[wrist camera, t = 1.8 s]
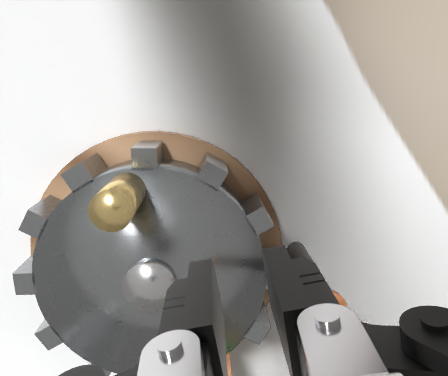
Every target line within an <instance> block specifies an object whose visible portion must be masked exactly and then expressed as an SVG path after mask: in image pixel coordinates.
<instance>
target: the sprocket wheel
mask: <svg viewBox="0 0 448 376" xmlns="http://www.w3.org/2000/svg"><path fill="white" fill-rule="evenodd" d="M227 174H228V169H227V165H226V162H225V161H223V160H221V159H219V158H217V157H216V156H214V155H212V154H210V153H209V152H206V154H205V156H204V157H203V159H202V161H201V163H200V164H199V166H195V165H192V164H189V163H187V162H183V161H178V160H174V159H167V158H164V152H163V140H140V141H139V142H138V143H137V144H135V145H134V146H133V147H132V148H131V160H128V161H125V162H122V163H118V164H115V165H113V166H110V167H107V166H106V164H105V163H104V162H103V160H102V159H101V157H100V156H99V154H98V153H96V154H94V155H92V156H90V157H89V158H87V159H85V160H84V161H82V162H80V163H79V164H77V165H75V166H74V167H72V168H70V169H69V170H67V171H65V172H64V173H62V174H60V175H61V177H62V178H63V179H64V181H65V182H66V183H67V185H68V186H69V188H70V189H71V190H72V192H71V193H70V194H69V195H68V196H67V197H65V198H64V199H63V200H61V199H59V198H57V197H55V196H53V195H51V194H50V195H49V196H47V197H46V198H45V199H43V200H42V201H40V202H39V203H37V204H36V205H34V206H33V207H31V208H30V209H28V211H27V213H26V215H25V217H24V219H23V222H22V224H21V226H20V228H19V230H20V231H22V232H24V233H26V234H28V235H30V236H32V237H34V238H36V239H37V241H36V245H35V249H34V253H33V255H32V256H31V257H29V258H28V259H27V260H26V261H25V262H24V263H23V264H22V265H21V266H20V267H19V268H18V269H17V270H16V271H15V272H14V273H13V280H14V286H15V292H16V295H32V294H35V296H36V299H37V302H38V305H39V307H40V310H41V312H42V314H43V316H44V318H45V320H44V321H43V323H42V324H41V325H40V327H39V328H38V330H37V331H36V333H35V335H36V337H37V338H38V339H39V340H40V341H41V342H42V344H43V345H44V346H45V347H46V348H47V350H50V349H52V348H54V347H56V346H57V345H59V344H61V343H64V344H65V345H67V346H68V347H69V348H70V349H71V350H72V351H73V352H75V353H76V354H78V355H79V356H80V357H82V358H83V359H85V360H87V361H89V362H90V363H89V365H95V366H98V367H100V368H102V369H103V371H104V372H105V375H106V376H109V375H110V373H111V372H114V373H117V374H119V373H122V372H124V371H127V370H129V369H131V368H133V367H135V366H136V365H138V364H139V362H140V356H141V352H142V350H143V348H144V347H145V346H146V344H147V343H148V342H150V341H151V340H152V339H153V338H155V337H157V335H158V331H159V326H160V321H161V316H162V311H163V306H164V302H165V297H166V292H167V289H168V288H169V287H170V286H171V284H172V283H173V282H174V281H175V280H178V279H184V278H188V269H189V262H192V261H198V260H203V259H209V258H212V260H213V264H214V268H215V273H216V278H217V283H218V288H219V293H220V298H221V303H222V309H223V316H224V327H225V342H226V357H227V373H228V376H232V375H231V362H230V351H231V350H232V349H234V348H235V347H236V346H237V345H238V344H239V343H240V342H241V341H242V339H243V338H246V339H248V340H250V341H253V342H255V343H257V344H260V343H261V342H262V340H263V339H264V337H265V336H266V334H267V333H268V331H269V330H270V328H271V327H270V323H269V319H268V315H267V311H266V308H265V304H264V301H263V300H264V296H265V290H266V289H268V287H267V281H266V275H265V269H264V262H263V256H262V249H264V248H270V247H262V245H261V242H260V239H259V236H258V235H259V234H261V233H263V232H264V231H266V230H268V229H270V228H272V227H273V226H274V224H273V222H272V220H271V218H270V216H269V214H268V211H267V209H266V208H265V206H264V204H263V202H262V201H261V199H260V197H259V196H258V194H257V192H255V193H254V194H252V195H250V196H248V197H247V198H245V199H243V200H241V199H240V198H239V197H238V196H237V194H236V193H235V192H234V191H233V190H232V189H231V188H230V187H229V186H228V185H227V184H225V183H224V182H223V181H224V179H225V178H226V176H227Z"/></svg>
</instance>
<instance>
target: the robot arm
mask: <svg viewBox="0 0 448 376" xmlns="http://www.w3.org/2000/svg"><path fill="white" fill-rule="evenodd" d="M262 256H263V262H264V269H265V275H266V281H267V287H268V293H269V298H270V303H271V308H272V312H273V316H274V319H275V323H276V326H277V330H278V333H279V337H280V340H281V344H282V347H283V351H284V354H285V358H286V361H287V365H288V368H289V372H290V376H448V309H447V308H443V307H438V306H418V307H414V308H411V309H408V310H407V311H405V312H404V313H403V314H402V315H401V317H400V320H399V324H400V326H382V325H372V324H367V323H363V322H361V321H360V319H359V318H358V316H357V315H356V313H355V312H354V311H352V310H351V309H349V308H347V307H345V306H342V305H340V304H339V302H338V301H337V299H336V297H335V296H334V294H333V292H332V291H331V289H330V287H329V286H328V284H327V282H326V281H325V279H324V277H323V276H322V274H321V273H320V271H319V269H318V267H317V266H316V264H315V263H314V262H312V261H310V260H308V259H307V258H305V257H300V258H295V259H291V258H290V256H289V254H288V252H287V250H286V247H285V245H281V246H275V247H270V248H264V249H262ZM59 376H106V375H105V372H104V371H103V369H102V368H100V367H98V366H95V365H83V366H78V367H75V368H72V369H70V370H68V371H66V372H64V373H62V374H61V375H59ZM115 376H228V373H227V357H226V342H225V327H224V316H223V309H222V303H221V298H220V293H219V288H218V283H217V278H216V273H215V268H214V264H213V260H212V258H209V259H203V260H198V261H192V262H189V269H188V278H184V279H178V280H175V281H174V282H173V283H172V284H171V286H170V287H169V288H168V289H167V292H166V297H165V302H164V306H163V311H162V316H161V321H160V326H159V331H158V335H157V337H155V338H153V339H152V340H151V341H150V342H148V343H147V344H146V346H145V347H144V348H143V350H142V352H141V356H140V362H139V364H138V365H136V366H135V367H133V368H131V369H129V370H127V371H124V372H122V373H119V374H117V375H115Z"/></svg>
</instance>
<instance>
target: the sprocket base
mask: <svg viewBox="0 0 448 376" xmlns="http://www.w3.org/2000/svg"><path fill="white" fill-rule="evenodd" d="M140 140H163V152H164V158H167V159H174V160H178V161H183V162H187V163H189V164H192V165H195V166H199V164H200V163H201V161H202V159H203V157H204V156H205V154H206V152H209V153H210V154H212V155H214V156H216V157H217V158H219V159H221V160H223V161H225V162H226V165H227V169H228V174H227V176H226V178H225V179H224V181H223V182H224V183H225V184H227V185H228V186H229V187H230V188H231V189H232V190H233V191H234V192H235V193H236V194H237V196H238V197H239V198H240V199H241V200H243V199H245V198H247V197H248V196H250V195H252V194H254V193H255V192H257V194H258V196H259V197H260V199H261V201H262V202H263V204H264V206H265V208H266V209H267V211H268V214H269V216H270V218H271V220H272V222H273V224H274V226H273V227H272V228H270V229H268V230H266V231H264V232H263V233H261V234H259V235H258V236H259V239H260V242H261V245H262V247H275V246H281V245H282V243H281V235H280V229H279V225H278V221H277V218H276V215H275V212H274V210H273V208H272V205H271V203H270V201H269V199H268V197H267V195H266V194H265V192H264V190H263V189H262V187H261V185H260V184H259V183H258V181H257V180H256V179H255V178H254V176H253V175H252V174H251V173H250V172H249V171H248V170H247V169H246V168H245V167H244V166H243V165H242V164H241V163H240V162H239V161H238V160H236V159H235V158H233V157H232V156H231V155H229V154H228V153H227V152H225V151H224V150H222V149H220V148H218V147H216V146H214V145H212V144H210V143H208V142H206V141H203V140H200V139H198V138H195V137H192V136H187V135H183V134H179V133H172V132H162V131H148V132H137V133H131V134H125V135H122V136H118V137H115V138H112V139H108V140H106V141H104V142H102V143H100V144H98V145H95V146H93V147H91V148H89V149H88V150H86V151H85V152H83V153H82V154H80V155H78V156H77V157H75V158H74V159H73V160H72V161H71V162H70V163H68V164H67V165H66V166H65V167H64V168H63V169H62V170H61V171H60V172H59V173H58V174H57V176H56V177H55V178H54V179H53V180H52V181H51V183H50V185H49V186H48V188H47V189H46V191H45V192H44V194H43V196H42V198H41V201H42V200H43V199H45V198H46V197H47V196H49V195H50V194H51V195H53V196H55V197H57V198H59V199H61V200H63V199H64V198H65V197H67V196H68V195H69V194H70V193H71V192H72V190H71V189H70V188H69V186H68V185H67V183H66V182H65V181H64V179H63V178H62V177H61V175H60V174H62V173H64V172H65V171H67V170H69V169H70V168H72V167H74V166H75V165H77V164H79V163H80V162H82V161H84V160H85V159H87V158H89V157H90V156H92V155H94V154H96V153H98V154H99V156H100V157H101V159H102V160H103V162H104V163H105V164H106V166H107V167H110V166H113V165H115V164H118V163H122V162H125V161H128V160H131V148H132V147H133V146H134V145H135V144H137V143H138V142H139V141H140ZM36 241H37V239H36V238H34V237H32V236H31V256H32V255H33V253H34V249H35V245H36ZM287 252H288V254H289V256H290V258H291V259H295V258H300V257H305V258H307V259H308V260H310V261H312V259H311V258H310V256H309V254H308V253H307V251H306V249H305V248H304V246H303V244H301V243H299V242H293V243H291V244H290V245H289V246H288V249H287ZM312 262H313V261H312ZM331 291H332V292H333V294H334V296H335V297H336V299H337V301H338V302H339V304H340V305H342V306H345V307H347V304H346V302H345V300H344V299H343V297H342V296H341V295H340V294H338V293H337V292H335V291H333V290H331ZM269 300H270V298H269V293H268V289H266V290H265V296H264V300H263V301H264V304H265V307H266V305H267V303H268V302H269Z"/></svg>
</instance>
